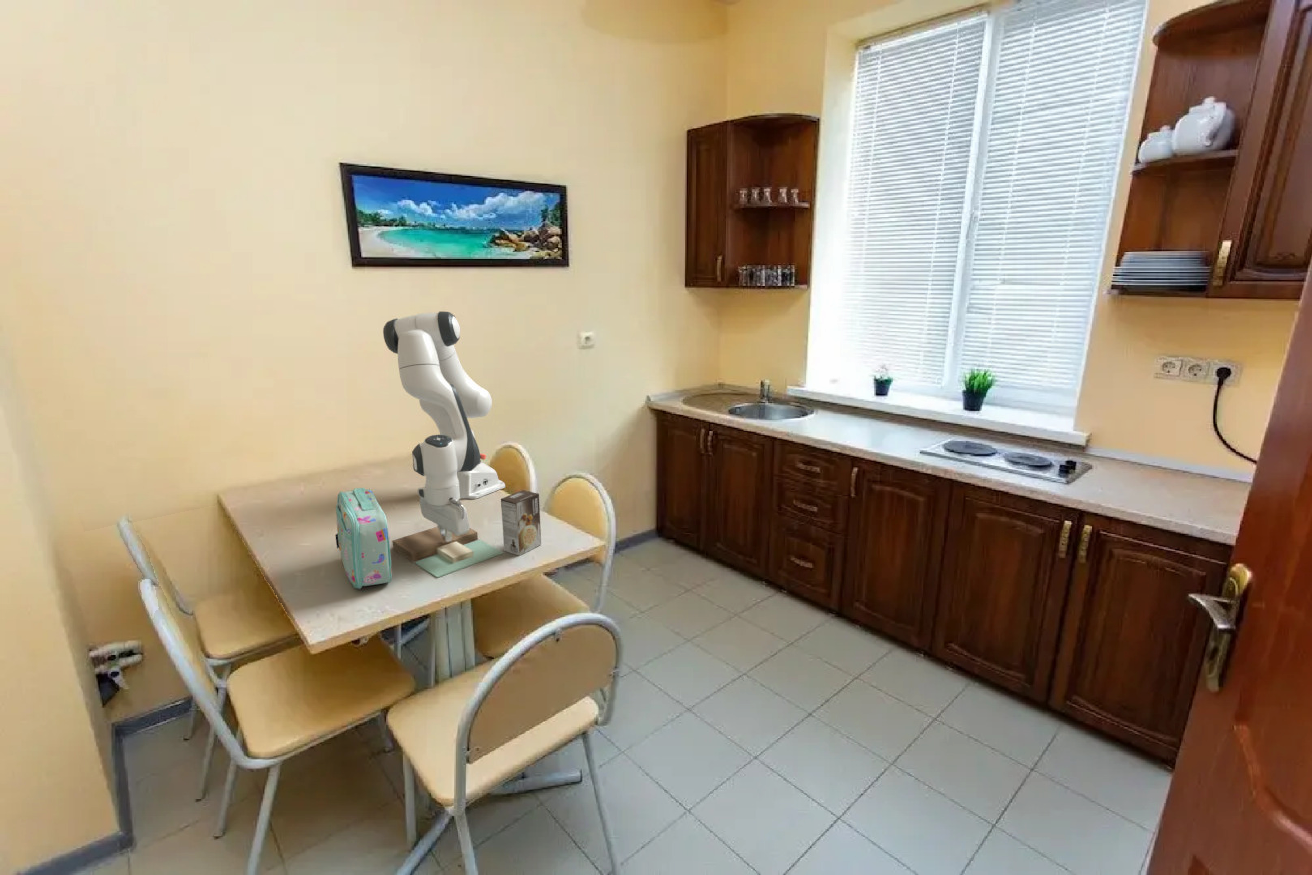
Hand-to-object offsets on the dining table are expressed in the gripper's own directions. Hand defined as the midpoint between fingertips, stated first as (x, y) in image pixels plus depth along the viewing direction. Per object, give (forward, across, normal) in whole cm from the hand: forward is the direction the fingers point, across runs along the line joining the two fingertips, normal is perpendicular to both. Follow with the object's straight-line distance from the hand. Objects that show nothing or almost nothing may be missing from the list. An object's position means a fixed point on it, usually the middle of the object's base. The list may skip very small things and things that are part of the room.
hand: (446, 539), depth 170 cm
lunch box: (+4, +5, +21) cm, 22 cm away
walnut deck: (+4, +7, 0) cm, 8 cm away
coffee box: (+4, -13, -16) cm, 21 cm away
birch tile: (+2, -4, 0) cm, 5 cm away
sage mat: (+4, -6, 0) cm, 7 cm away
